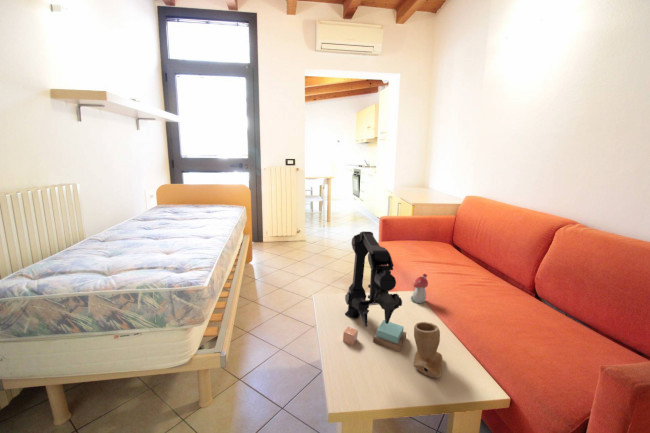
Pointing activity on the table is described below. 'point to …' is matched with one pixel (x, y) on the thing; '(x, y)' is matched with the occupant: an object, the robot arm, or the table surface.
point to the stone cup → (427, 349)
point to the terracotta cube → (350, 335)
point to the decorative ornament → (420, 289)
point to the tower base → (389, 343)
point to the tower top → (390, 332)
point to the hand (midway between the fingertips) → (376, 324)
